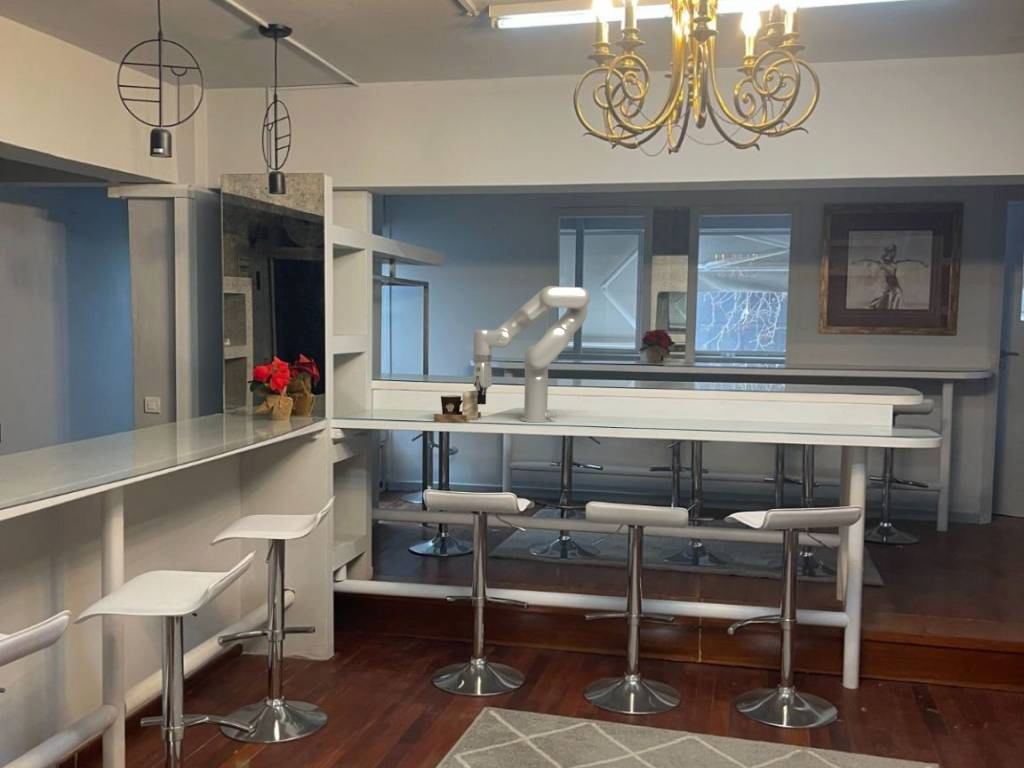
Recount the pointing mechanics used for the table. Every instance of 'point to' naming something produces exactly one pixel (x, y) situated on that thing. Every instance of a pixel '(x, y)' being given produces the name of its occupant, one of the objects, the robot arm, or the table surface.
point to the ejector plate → (470, 405)
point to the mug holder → (452, 418)
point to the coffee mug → (451, 404)
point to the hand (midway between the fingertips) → (481, 404)
